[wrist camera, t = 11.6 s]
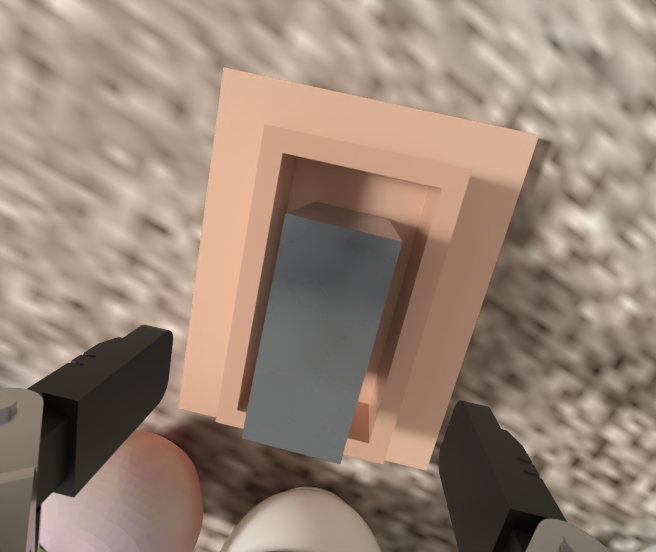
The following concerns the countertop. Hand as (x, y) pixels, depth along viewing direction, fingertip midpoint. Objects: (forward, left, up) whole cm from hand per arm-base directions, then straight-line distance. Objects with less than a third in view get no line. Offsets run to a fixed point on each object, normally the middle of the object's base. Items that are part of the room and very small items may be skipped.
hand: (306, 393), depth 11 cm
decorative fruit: (+14, -9, -12) cm, 21 cm away
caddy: (0, 0, -12) cm, 12 cm away
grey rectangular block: (0, 0, -11) cm, 11 cm away
